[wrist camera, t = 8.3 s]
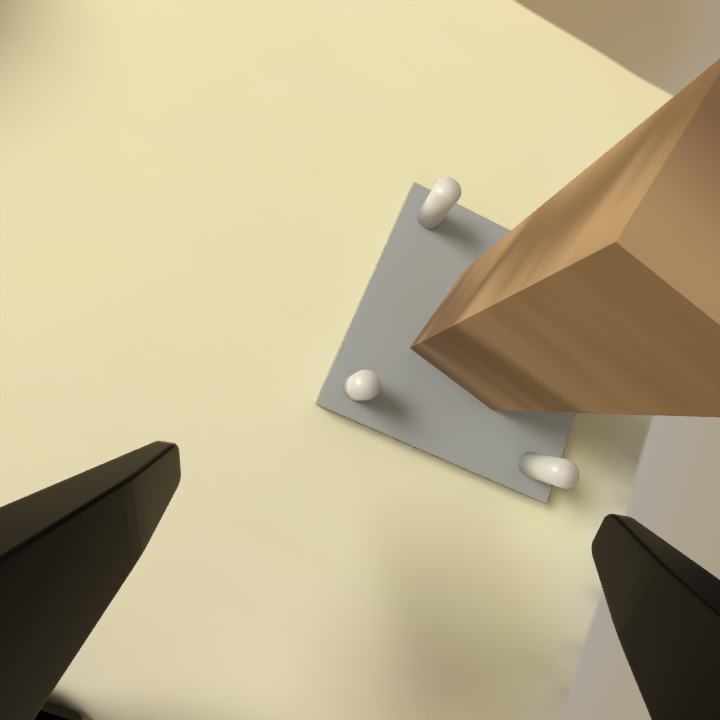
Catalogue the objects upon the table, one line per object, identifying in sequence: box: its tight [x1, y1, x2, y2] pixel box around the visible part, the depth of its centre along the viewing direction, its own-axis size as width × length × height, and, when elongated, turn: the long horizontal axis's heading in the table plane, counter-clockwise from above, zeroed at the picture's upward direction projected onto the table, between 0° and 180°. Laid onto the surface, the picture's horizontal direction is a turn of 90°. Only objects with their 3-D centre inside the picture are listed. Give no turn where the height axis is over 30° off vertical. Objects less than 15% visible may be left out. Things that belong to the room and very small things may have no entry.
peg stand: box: [315, 177, 579, 504], centre depth 18 cm, size 12×12×4 cm
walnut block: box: [410, 59, 720, 417], centre depth 13 cm, size 5×5×12 cm
